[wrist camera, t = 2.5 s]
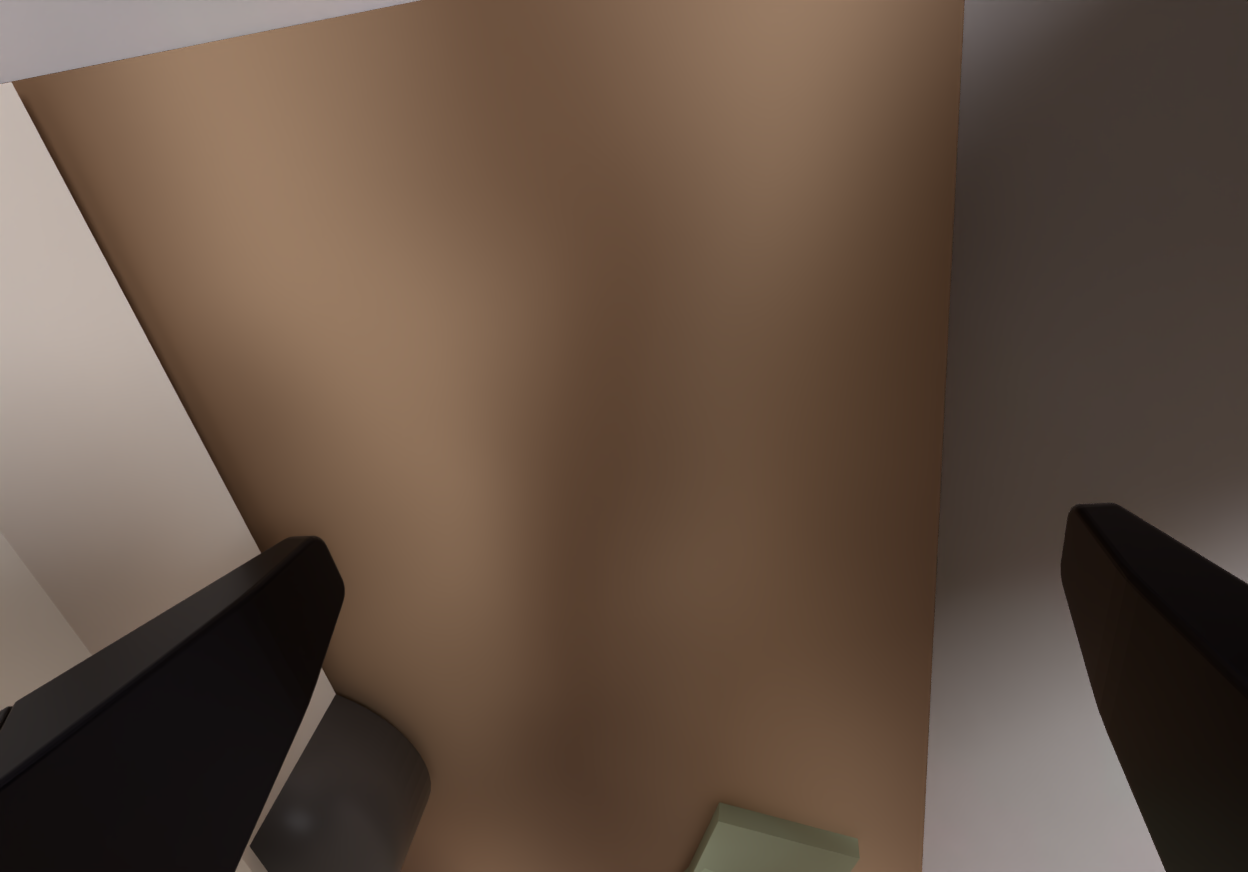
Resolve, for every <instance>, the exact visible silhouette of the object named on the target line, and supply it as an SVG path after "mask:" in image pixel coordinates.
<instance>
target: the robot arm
mask: <svg viewBox="0 0 1248 872" xmlns="http://www.w3.org/2000/svg"><path fill="white" fill-rule="evenodd" d="M1061 578H1062V584H1063V588H1064V591H1065V595H1066V599H1067V602H1068V606H1069V609H1070V613H1071V616H1072V620H1073V623H1074V627H1075V630H1076V634H1077V637H1078V641H1079V644H1080V648H1081V652H1082V655H1083V659H1084V662H1085V666H1086V669H1087V673H1088V676H1089V680H1090V683H1091V687H1092V690H1093V694H1094V697H1095V700H1096V703H1097V707H1098V710H1099V713H1100V715H1101V718H1102V721H1103V723H1104V726H1105V728H1106V731H1107V734H1108V736H1109V738H1110V741H1111V743H1112V745H1113V748H1114V750H1115V752H1116V755H1117V757H1118V760H1119V762H1120V764H1121V767H1122V769H1123V771H1124V774H1125V776H1126V779H1127V781H1128V783H1129V786H1130V788H1131V790H1132V793H1133V795H1134V797H1135V800H1136V802H1137V805H1138V807H1139V809H1140V812H1141V814H1142V816H1143V819H1144V821H1145V824H1146V826H1147V828H1148V831H1149V833H1150V835H1151V838H1152V840H1153V842H1154V845H1155V847H1156V850H1157V852H1158V854H1159V857H1160V859H1161V861H1162V864H1163V866H1164V869H1165V871H1166V872H1248V584H1247V583H1245V582H1244V581H1242V580H1240V579H1239V578H1237V577H1235V576H1234V575H1232V574H1231V573H1229V572H1227V571H1226V570H1224V569H1222V568H1221V567H1219V566H1218V565H1216V564H1214V563H1213V562H1211V561H1209V560H1208V559H1206V558H1205V557H1203V556H1201V555H1200V554H1198V553H1196V552H1195V551H1193V550H1191V549H1190V548H1188V547H1187V546H1185V545H1183V544H1182V543H1180V542H1178V541H1177V540H1175V539H1174V538H1172V537H1170V536H1169V535H1167V534H1165V533H1164V532H1162V531H1160V530H1159V529H1157V528H1156V527H1154V526H1152V525H1151V524H1149V523H1147V522H1146V521H1144V520H1143V519H1141V518H1139V517H1138V516H1136V515H1134V514H1133V513H1131V512H1129V511H1128V510H1126V509H1125V508H1123V507H1121V506H1119V505H1117V504H1114V503H1094V504H1077V505H1075V506H1074V507H1072V508H1071V510H1070V512H1069V514H1068V518H1067V525H1066V531H1065V538H1064V545H1063V551H1062V558H1061ZM344 597H345V586H344V581H343V578H342V576H341V574H340V572H339V570H338V568H337V566H336V564H335V562H334V559H333V557H332V555H331V553H330V551H329V549H328V547H327V545H326V543H325V541H324V540H323V539H321V538H320V537H318V536H314V535H310V536H292V537H288V538H286V539H284V540H282V541H280V542H279V543H277V544H275V545H274V546H272V547H271V548H269V549H267V550H266V551H264V552H262V553H261V554H259V555H257V556H256V557H254V558H252V559H251V560H249V561H247V562H246V563H244V564H242V565H241V566H239V567H237V568H236V569H234V570H232V571H231V572H229V573H228V574H226V575H224V576H223V577H221V578H219V579H218V580H216V581H214V582H213V583H211V584H209V585H208V586H206V587H204V588H203V589H201V590H199V591H198V592H196V593H194V594H193V595H191V596H189V597H188V598H186V599H185V600H183V601H181V602H180V603H178V604H176V605H175V606H173V607H171V608H170V609H168V610H166V611H165V612H163V613H161V614H160V615H158V616H156V617H155V618H153V619H151V620H150V621H148V622H146V623H145V624H143V625H142V626H140V627H138V628H137V629H135V630H133V631H132V632H130V633H128V634H127V635H125V636H123V637H122V638H120V639H118V640H117V641H115V642H113V643H112V644H110V645H108V646H107V647H105V648H103V649H102V650H100V651H98V652H97V653H95V654H94V655H92V656H90V657H89V658H87V659H85V660H84V661H82V662H80V663H79V664H77V665H75V666H74V667H72V668H70V669H69V670H67V671H65V672H64V673H62V674H60V675H59V676H57V677H55V678H54V679H52V680H51V681H49V682H47V683H46V684H44V685H42V686H41V687H39V688H37V689H36V690H34V691H32V692H31V693H29V694H27V695H26V696H24V697H22V698H21V699H19V700H17V701H16V702H15V703H14V705H13V707H12V706H8V707H6V708H4V709H2V710H1V711H0V872H235V871H236V869H237V866H238V864H239V862H240V860H241V857H242V855H243V853H244V851H245V848H246V846H247V844H248V842H249V839H250V837H251V835H252V833H253V830H254V828H255V826H256V824H257V821H258V819H259V817H260V815H261V812H262V810H263V808H264V806H265V803H266V801H267V799H268V797H269V794H270V792H271V790H272V788H273V785H274V783H275V781H276V779H277V776H278V774H279V772H280V770H281V767H282V765H283V763H284V761H285V758H286V756H287V754H288V752H289V749H290V747H291V745H292V743H293V740H294V738H295V736H296V734H297V731H298V729H299V727H300V725H301V722H302V720H303V718H304V715H305V713H306V710H307V708H308V706H309V703H310V701H311V698H312V695H313V692H314V689H315V687H316V684H317V681H318V678H319V675H320V672H321V669H322V666H323V662H324V659H325V656H326V653H327V650H328V647H329V644H330V641H331V638H332V635H333V632H334V629H335V626H336V623H337V620H338V617H339V614H340V611H341V608H342V605H343V602H344Z"/></svg>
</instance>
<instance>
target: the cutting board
mask: <svg viewBox="0 0 1248 872" xmlns="http://www.w3.org/2000/svg"><path fill="white" fill-rule="evenodd" d="M964 2H965V0H420V1H415V2H410V3H405V4H400V5H395V6H390V7H385V8H380V9H375V10H370V11H365V12H360V13H355V14H350V15H345V16H340V17H335V18H330V19H325V20H320V21H315V22H310V23H305V24H299V25H294V26H289V27H284V28H279V29H274V30H269V31H264V32H259V33H254V34H249V35H244V36H239V37H234V38H229V39H224V40H219V41H214V42H209V43H204V44H199V45H194V46H189V47H184V48H179V49H174V50H169V51H164V52H158V53H153V54H148V55H143V56H138V57H133V58H128V59H123V60H118V61H113V62H108V63H103V64H98V65H93V66H88V67H83V68H78V69H73V70H68V71H63V72H58V73H53V74H48V75H43V76H38V77H33V78H28V79H23V80H17V81H12V84H13V86H14V88H15V90H16V92H17V94H18V95H19V97H20V99H21V101H22V103H23V105H24V107H25V109H26V111H27V112H28V114H29V116H30V118H31V120H32V122H33V124H34V126H35V127H36V129H37V131H38V133H39V135H40V137H41V139H42V141H43V143H44V144H45V146H46V148H47V150H48V152H49V154H50V156H51V158H52V160H53V161H54V163H55V165H56V167H57V169H58V171H59V173H60V175H61V177H62V178H63V180H64V182H65V184H66V186H67V188H68V190H69V192H70V194H71V195H72V197H73V199H74V201H75V203H76V205H77V207H78V209H79V211H80V212H81V214H82V216H83V218H84V220H85V222H86V224H87V226H88V227H89V229H90V231H91V233H92V235H93V237H94V239H95V241H96V243H97V244H98V246H99V248H100V250H101V252H102V254H103V256H104V258H105V260H106V261H107V263H108V265H109V267H110V269H111V271H112V273H113V275H114V277H115V278H116V280H117V282H118V284H119V286H120V288H121V290H122V292H123V294H124V295H125V297H126V299H127V301H128V303H129V305H130V307H131V309H132V311H133V312H134V314H135V316H136V318H137V320H138V322H139V324H140V326H141V328H142V329H143V331H144V333H145V335H146V337H147V339H148V341H149V343H150V344H151V346H152V348H153V350H154V352H155V354H156V356H157V358H158V360H159V361H160V363H161V365H162V367H163V369H164V371H165V373H166V375H167V377H168V378H169V380H170V382H171V384H172V386H173V388H174V390H175V392H176V394H177V395H178V397H179V399H180V401H181V403H182V405H183V407H184V409H185V411H186V412H187V414H188V416H189V418H190V420H191V422H192V424H193V426H194V428H195V429H196V431H197V433H198V435H199V437H200V439H201V441H202V443H203V445H204V446H205V448H206V450H207V452H208V454H209V456H210V458H211V460H212V461H213V463H214V465H215V467H216V469H217V471H218V473H219V475H220V477H221V478H222V480H223V482H224V484H225V486H226V488H227V490H228V492H229V494H230V495H231V497H232V499H233V501H234V503H235V505H236V507H237V509H238V511H239V512H240V514H241V516H242V518H243V520H244V522H245V524H246V526H247V528H248V529H249V531H250V533H251V535H252V537H253V539H254V541H255V543H256V545H257V546H258V548H259V550H260V552H261V553H262V552H264V551H266V550H267V549H269V548H271V547H272V546H274V545H275V544H277V543H279V542H280V541H282V540H284V539H286V538H288V537H292V536H310V535H314V536H318V537H320V538H321V539H323V540H324V541H325V543H326V545H327V547H328V549H329V551H330V553H331V555H332V557H333V559H334V562H335V564H336V566H337V568H338V570H339V572H340V574H341V576H342V578H343V581H344V586H345V597H344V602H343V605H342V608H341V611H340V614H339V617H338V620H337V623H336V626H335V629H334V632H333V635H332V638H331V641H330V644H329V647H328V650H327V653H326V656H325V659H324V662H323V666H322V669H323V671H324V673H325V675H326V677H327V678H328V680H329V682H330V684H331V686H332V688H333V690H334V692H335V694H337V695H339V696H342V697H344V698H346V699H349V700H351V701H353V702H355V703H357V704H359V705H361V706H363V707H365V708H367V709H369V710H370V711H372V712H374V713H375V714H377V715H379V716H380V717H382V718H383V719H384V720H386V721H387V722H389V723H390V724H391V725H393V726H394V727H395V728H396V729H397V730H398V731H400V732H401V733H402V734H403V735H404V736H405V737H406V738H407V739H408V740H409V741H410V742H411V743H412V744H413V746H414V747H415V748H416V750H417V751H418V752H419V754H420V755H421V757H422V759H423V761H424V762H425V764H426V767H427V769H428V772H429V775H430V781H431V792H430V796H429V799H428V802H427V805H426V807H425V810H424V812H423V815H422V817H421V820H420V822H419V825H418V827H417V830H416V833H415V835H414V838H413V840H412V843H411V845H410V848H409V850H408V853H407V855H406V858H405V860H404V863H403V866H402V868H401V871H400V872H922V857H923V837H924V816H925V796H926V776H927V755H928V735H929V715H930V694H931V674H932V654H933V633H934V613H935V592H936V572H937V552H938V531H939V511H940V491H941V470H942V450H943V430H944V409H945V389H946V369H947V348H948V328H949V308H950V287H951V267H952V247H953V226H954V206H955V186H956V165H957V145H958V125H959V104H960V84H961V64H962V43H963V23H964ZM7 83H9V82H7ZM2 84H4V83H2Z"/></svg>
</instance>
